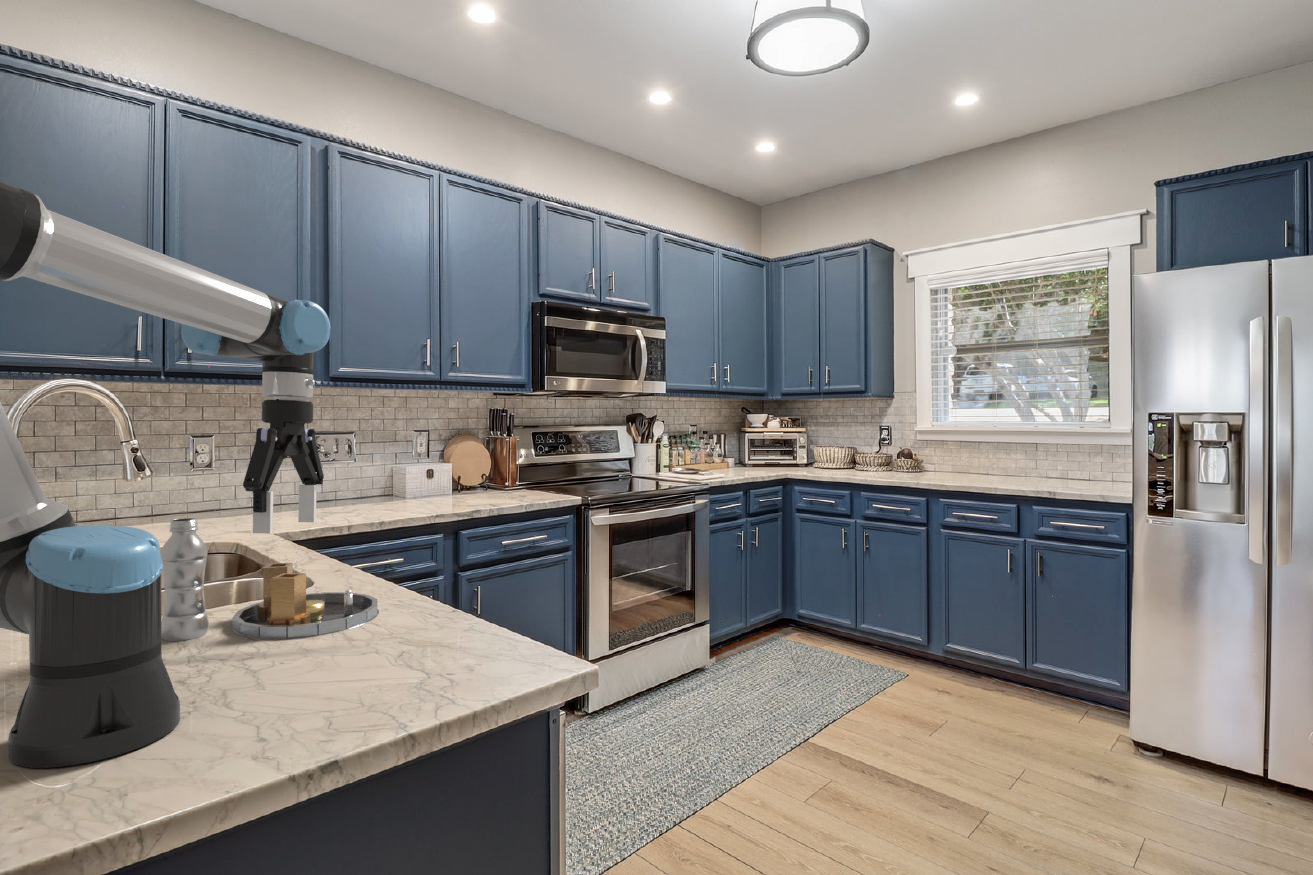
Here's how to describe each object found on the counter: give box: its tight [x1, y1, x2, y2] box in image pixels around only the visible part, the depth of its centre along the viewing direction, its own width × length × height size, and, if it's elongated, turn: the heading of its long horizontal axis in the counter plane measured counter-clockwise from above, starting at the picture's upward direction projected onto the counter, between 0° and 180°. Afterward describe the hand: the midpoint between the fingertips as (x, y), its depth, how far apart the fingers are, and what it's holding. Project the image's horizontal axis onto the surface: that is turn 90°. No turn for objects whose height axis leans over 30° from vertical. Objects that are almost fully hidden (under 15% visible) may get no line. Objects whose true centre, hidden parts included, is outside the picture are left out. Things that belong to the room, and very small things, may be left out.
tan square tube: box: [258, 562, 294, 620], centre depth 123 cm, size 6×6×9 cm
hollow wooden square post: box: [267, 572, 311, 625], centre depth 114 cm, size 6×6×9 cm
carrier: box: [231, 589, 380, 640], centre depth 121 cm, size 23×23×6 cm
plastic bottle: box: [160, 517, 210, 642], centre depth 111 cm, size 6×7×20 cm
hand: (286, 527), depth 114 cm, fingers open, 13 cm apart
